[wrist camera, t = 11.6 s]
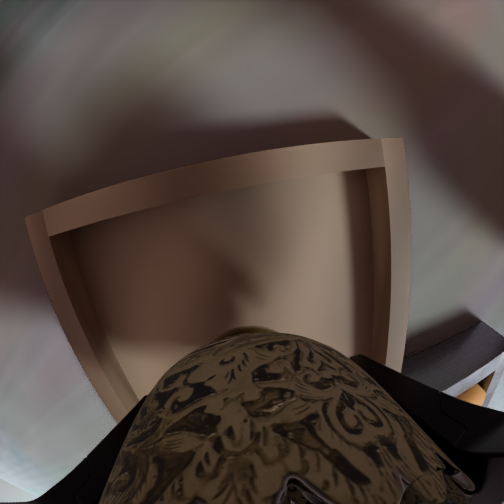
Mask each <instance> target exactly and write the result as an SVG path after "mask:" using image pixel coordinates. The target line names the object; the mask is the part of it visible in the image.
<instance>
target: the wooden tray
mask: <svg viewBox="0 0 504 504" xmlns="http://www.w3.org/2000/svg"><path fill="white" fill-rule="evenodd" d="M24 218H25V223H26V227H27V231H28V234H29V238H30V242H31V245H32V249H33V252H34V255H35V258H36V262H37V265H38V268H39V271H40V274H41V276H42V279H43V282H44V285H45V288H46V290H47V293H48V295H49V298H50V300H51V303H52V305H53V308H54V310H55V313H56V315H57V317H58V319H59V322H60V324H61V326H62V328H63V330H64V333H65V335H66V337H67V339H68V341H69V343H70V345H71V347H72V349H73V351H74V353H75V355H76V357H77V358H78V360H79V362H80V364H81V366H82V368H83V369H84V371H85V373H86V375H87V376H88V378H89V380H90V382H91V383H92V385H93V387H94V388H95V390H96V392H97V393H98V395H99V396H100V398H101V399H102V401H103V403H104V404H105V406H106V407H107V409H108V410H109V412H110V413H111V415H112V416H113V417H114V419H115V420H116V422H117V423H119V422H120V421H121V420H122V419H123V418H124V417H125V416H126V415H127V414H128V413H129V412H130V411H131V409H132V408H133V407H134V406H135V405H136V404H137V403H138V402H139V401H140V400H141V399H142V398H143V397H144V396H145V395H148V394H149V393H150V391H151V390H152V389H153V388H154V386H155V385H156V384H157V382H158V381H159V380H160V378H161V377H162V376H163V375H164V374H165V373H166V372H167V371H168V370H169V369H170V368H171V367H172V366H173V365H174V364H176V363H177V362H178V361H179V360H181V359H182V358H183V357H185V356H186V355H187V354H189V353H191V352H193V351H194V350H196V349H198V348H200V347H202V346H204V345H206V344H209V343H211V342H212V341H213V340H214V339H215V338H216V337H218V336H219V335H221V334H222V333H224V332H226V331H228V330H231V329H233V328H237V327H242V326H263V327H267V328H271V329H273V330H276V331H278V332H280V333H289V334H294V335H299V336H303V337H307V338H310V339H313V340H315V341H318V342H320V343H323V344H325V345H327V346H330V347H332V348H333V349H335V350H337V351H339V352H340V353H342V354H343V355H345V356H346V357H348V358H349V357H350V356H353V355H356V354H362V355H364V356H366V357H368V358H370V359H373V360H375V361H377V362H379V363H381V364H383V365H385V366H387V367H389V368H391V369H393V370H395V371H398V372H400V373H401V368H402V362H403V356H404V349H405V342H406V334H407V325H408V315H409V303H410V288H411V260H412V236H411V208H410V193H409V181H408V171H407V162H406V154H405V147H404V140H403V138H378V139H361V140H348V141H336V142H326V143H317V144H308V145H300V146H292V147H285V148H278V149H271V150H265V151H258V152H252V153H247V154H241V155H235V156H230V157H225V158H220V159H215V160H210V161H205V162H200V163H196V164H191V165H187V166H183V167H178V168H174V169H170V170H166V171H162V172H158V173H154V174H151V175H147V176H143V177H139V178H136V179H132V180H129V181H125V182H122V183H119V184H115V185H112V186H109V187H106V188H102V189H99V190H96V191H93V192H90V193H87V194H84V195H81V196H78V197H75V198H72V199H70V200H67V201H64V202H61V203H59V204H56V205H53V206H51V207H48V208H45V209H43V210H40V211H38V212H35V213H33V214H30V215H28V216H25V217H24Z"/></svg>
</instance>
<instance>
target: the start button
mask: <svg viewBox="0 0 504 504" xmlns="http://www.w3.org/2000/svg"><path fill="white" fill-rule="evenodd" d="M485 396H486V392H485V391H484V390H483V389H482V388H481V387H480V386H479V385H478V384H475V385H474V386H472V387H471V388H469V389H468V390H466V391H464V392H463V393H461V394H460V395H458V396H456V398H458V399H461V400H463V401H466V402H469V403H473V404H476V405H479V406H482V404H483V402H484V400H485Z"/></svg>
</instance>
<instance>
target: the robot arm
mask: <svg viewBox="0 0 504 504" xmlns="http://www.w3.org/2000/svg"><path fill="white" fill-rule="evenodd" d="M349 359H351V360H352V361H353V362H354V363H356V364H357V365H358V366H359V367H360V368H362V369H363V370H364V371H365V372H366V373H367V374H369V375H370V376H371V377H372V378H373V379H374V380H375V381H376V382H377V383H378V384H379V385H380V386H381V387H382V388H383V389H384V390H385V391H386V392H387V393H388V394H389V395H390V396H391V397H392V398H393V399H394V400H395V401H396V402H397V403H398V404H399V405H400V407H401V408H402V409H403V410H404V411H405V412H406V413H407V414H408V415H409V416H410V417H411V418H412V419H413V420H414V421H415V422H416V423H417V424H418V426H419V427H420V428H421V429H422V430H423V431H424V432H425V433H426V434H427V435H428V436H429V437H430V438H431V439H432V441H433V442H434V443H435V444H436V445H437V446H438V447H439V448H440V449H441V450H442V451H443V452H444V453H445V455H446V456H447V457H448V458H449V459H450V460H451V461H452V462H453V463H454V464H455V465H456V466H457V467H458V468H459V469H460V470H461V471H462V472H464V473H465V474H466V475H467V476H468V477H469V478H470V479H471V481H472V482H473V483H474V485H475V490H473V491H472V492H473V496H472V501H471V502H469V503H462V504H504V412H501V411H497V410H494V409H490V408H486V407H483V406H479V405H476V404H473V403H469V402H466V401H463V400H461V399H458V398H456V397H453V396H451V395H448V394H446V393H444V392H439V390H437V389H434V388H432V387H430V386H428V385H426V384H423V383H421V382H419V381H417V380H415V379H412V378H410V377H408V376H406V375H404V374H402V373H400V372H398V371H395V370H393V369H391V368H389V367H387V366H385V365H383V364H381V363H379V362H377V361H375V360H373V359H370V358H368V357H366V356H364V355H362V354H356V355H353V356H350V357H349ZM147 396H148V395H145V396H144V397H143V398H142V399H141V400H140V401H139V402H138V403H137V404H136V405H135V406H134V407H133V408H132V409H131V411H130V412H129V413H128V414H127V415H126V416H125V417H124V418H123V419H122V420H121V421H120V422H119V423H118V424H117V425H116V426H115V427H114V428H113V429H112V431H111V432H110V433H109V434H108V435H107V436H106V437H105V438H104V439H103V440H102V441H101V442H100V443H99V444H98V445H97V446H96V447H95V448H94V449H93V450H92V451H91V452H90V453H89V454H88V455H87V457H86V458H84V459H83V460H82V462H81V463H80V464H79V465H77V466H76V467H75V468H74V469H73V470H72V471H71V472H70V473H69V474H68V475H67V476H65V477H64V478H63V479H62V480H61V481H59V482H58V483H57V484H56V485H54V486H53V487H52V488H51V489H49V490H48V491H47V492H46V493H44V494H43V495H42V496H40V497H39V498H37V499H35V500H32V501H28V502H16V503H15V502H12V503H11V502H10V503H0V504H99V501H100V499H101V496H102V494H103V491H104V489H105V486H106V484H107V481H108V479H109V476H110V474H111V471H112V469H113V467H114V464H115V462H116V459H117V457H118V455H119V452H120V450H121V448H122V446H123V443H124V441H125V439H126V437H127V434H128V432H129V430H130V428H131V426H132V424H133V422H134V420H135V418H136V416H137V414H138V412H139V410H140V408H141V406H142V405H143V403H144V401H145V400H146V398H147ZM459 469H458V471H459V473H460V470H459ZM422 504H423V503H422ZM452 504H458V503H455V502H452Z"/></svg>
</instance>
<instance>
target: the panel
mask: <svg viewBox="0 0 504 504" xmlns="http://www.w3.org/2000/svg"><path fill="white" fill-rule="evenodd" d="M503 371H504V337H503V336H502V335H501V334H499V333H498V332H496V331H495V330H494V329H492V328H491V327H490V326H488V325H487V324H485V323H484V322H483V321H482V322H480V323H478V324H476V325H475V326H473V327H471V328H469V329H467V330H465V331H464V332H462V333H460V334H458V335H456V336H454V337H452V338H450V339H448V340H446V341H444V342H442V343H440V344H438V345H436V346H434V347H432V348H429V349H427V350H425V351H423V352H421V353H418V354H416V355H414V356H412V357H409V358H407V359H404V360H403V362H402V368H401V373H402V374H404V375H406V376H408V377H410V378H412V379H415V380H417V381H419V382H421V383H423V384H426V385H428V386H430V387H432V388H434V389H437V390H439V392H444V393H446V394H448V395H451V396H453V397H456V396H458V395H460V394H461V393H463V392H464V391H466V390H468V389H469V388H471V387H472V386H474V385H475V384H478V385H479V386H480V387H481V388H482V389H483V390H484V391H485V392H486V396H485V400H484V402H483V404H482V406H483V407H486V408H487V406H488V404H489V402H490V400H491V398H492V396H493V394H494V391H495V389H496V387H497V385H498V383H499V380H500V378H501V376H502V373H503Z"/></svg>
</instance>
